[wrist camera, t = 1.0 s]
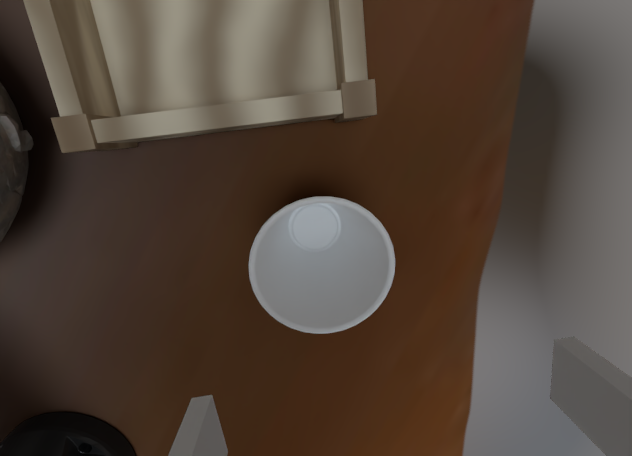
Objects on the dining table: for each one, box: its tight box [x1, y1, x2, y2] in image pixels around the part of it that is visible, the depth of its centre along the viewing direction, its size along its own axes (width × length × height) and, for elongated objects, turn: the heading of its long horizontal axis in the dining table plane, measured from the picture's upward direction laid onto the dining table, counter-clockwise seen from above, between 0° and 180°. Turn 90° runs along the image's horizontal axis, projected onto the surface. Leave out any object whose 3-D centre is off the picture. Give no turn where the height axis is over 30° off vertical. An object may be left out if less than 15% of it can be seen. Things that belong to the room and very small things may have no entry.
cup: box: [248, 196, 395, 334], centre depth 27 cm, size 10×10×11 cm
